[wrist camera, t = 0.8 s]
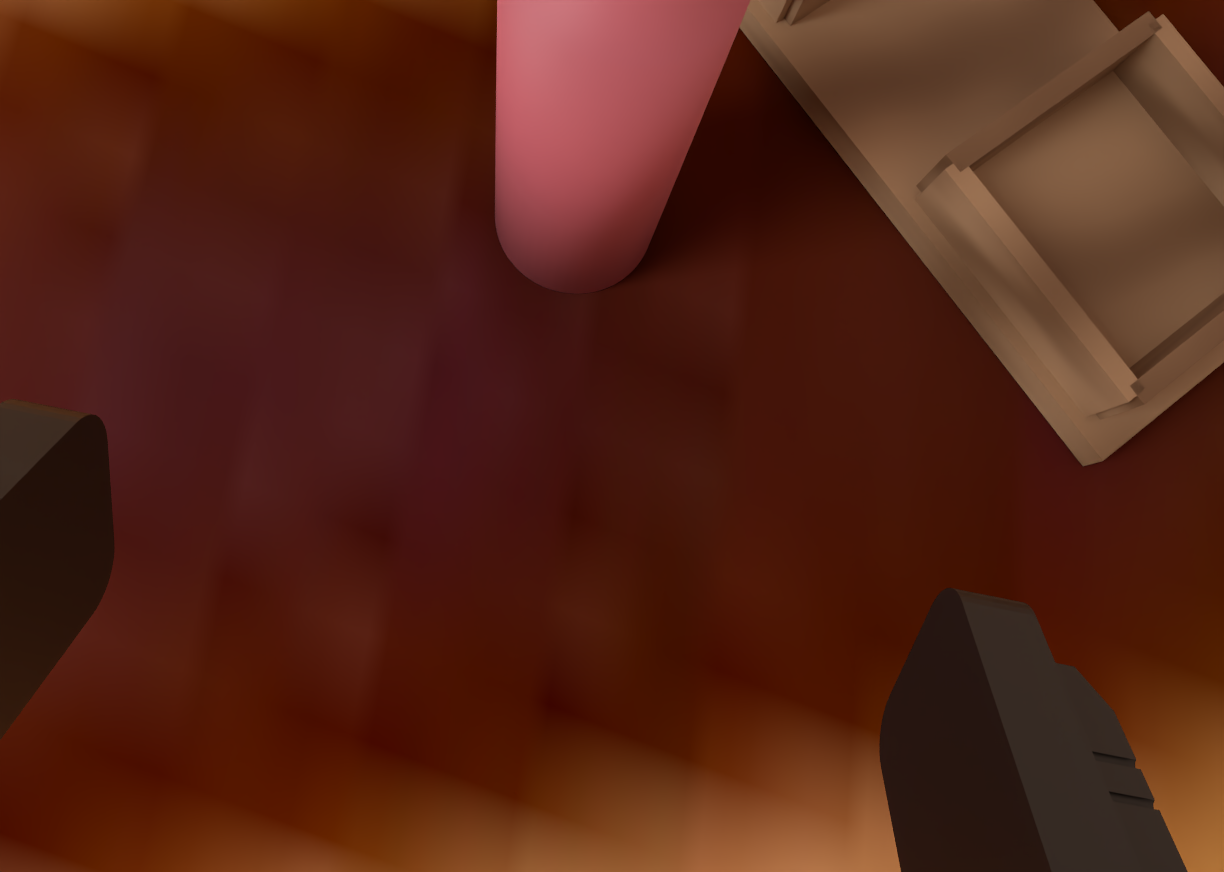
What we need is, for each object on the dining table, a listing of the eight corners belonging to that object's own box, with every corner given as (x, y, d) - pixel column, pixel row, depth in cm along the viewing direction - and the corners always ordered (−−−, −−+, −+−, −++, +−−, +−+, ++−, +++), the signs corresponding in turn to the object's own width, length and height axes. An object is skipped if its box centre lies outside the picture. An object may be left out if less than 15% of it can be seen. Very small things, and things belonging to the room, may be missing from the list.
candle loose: (463, 197, 29) (444, -93, 17) (591, 115, 30) (655, -214, 18) (557, 324, 29) (603, 115, 17) (684, 237, 30) (810, -18, 18)
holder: (578, -179, 32) (587, -261, 29) (807, -310, 33) (837, -400, 30) (1082, 466, 30) (1147, 448, 27) (1297, 292, 32) (1380, 257, 29)
